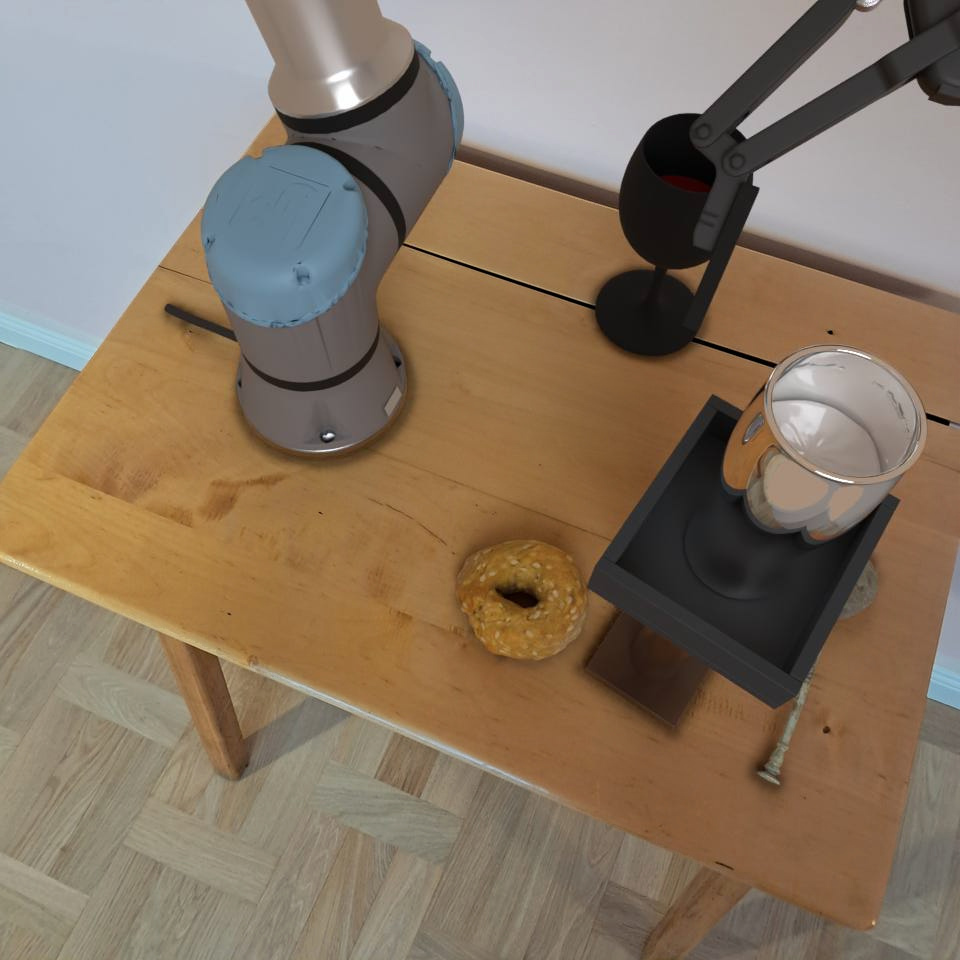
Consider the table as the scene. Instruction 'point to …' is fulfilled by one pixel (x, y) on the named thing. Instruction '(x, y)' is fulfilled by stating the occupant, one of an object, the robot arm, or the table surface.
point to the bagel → (533, 573)
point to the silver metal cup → (804, 466)
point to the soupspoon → (855, 604)
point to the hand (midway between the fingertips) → (833, 382)
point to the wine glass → (659, 239)
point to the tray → (709, 615)
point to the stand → (647, 670)
